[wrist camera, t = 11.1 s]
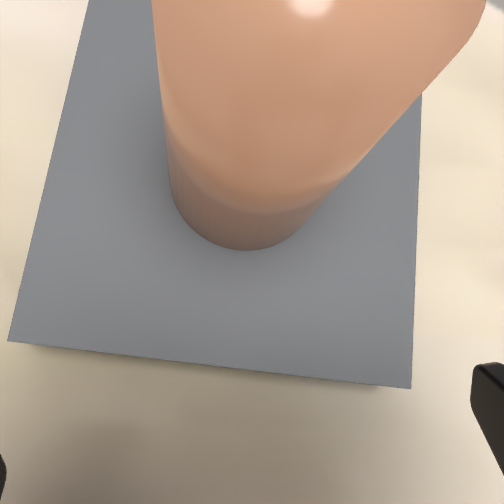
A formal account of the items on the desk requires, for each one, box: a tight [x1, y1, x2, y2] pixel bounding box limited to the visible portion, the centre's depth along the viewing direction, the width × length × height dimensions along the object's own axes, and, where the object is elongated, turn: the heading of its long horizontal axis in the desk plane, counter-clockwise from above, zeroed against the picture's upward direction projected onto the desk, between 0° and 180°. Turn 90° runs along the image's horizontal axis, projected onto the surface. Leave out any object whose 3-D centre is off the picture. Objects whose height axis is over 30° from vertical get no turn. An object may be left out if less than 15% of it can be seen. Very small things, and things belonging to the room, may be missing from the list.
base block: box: [7, 0, 422, 389], centre depth 20 cm, size 15×15×3 cm
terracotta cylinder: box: [151, 0, 486, 251], centre depth 13 cm, size 6×6×11 cm
